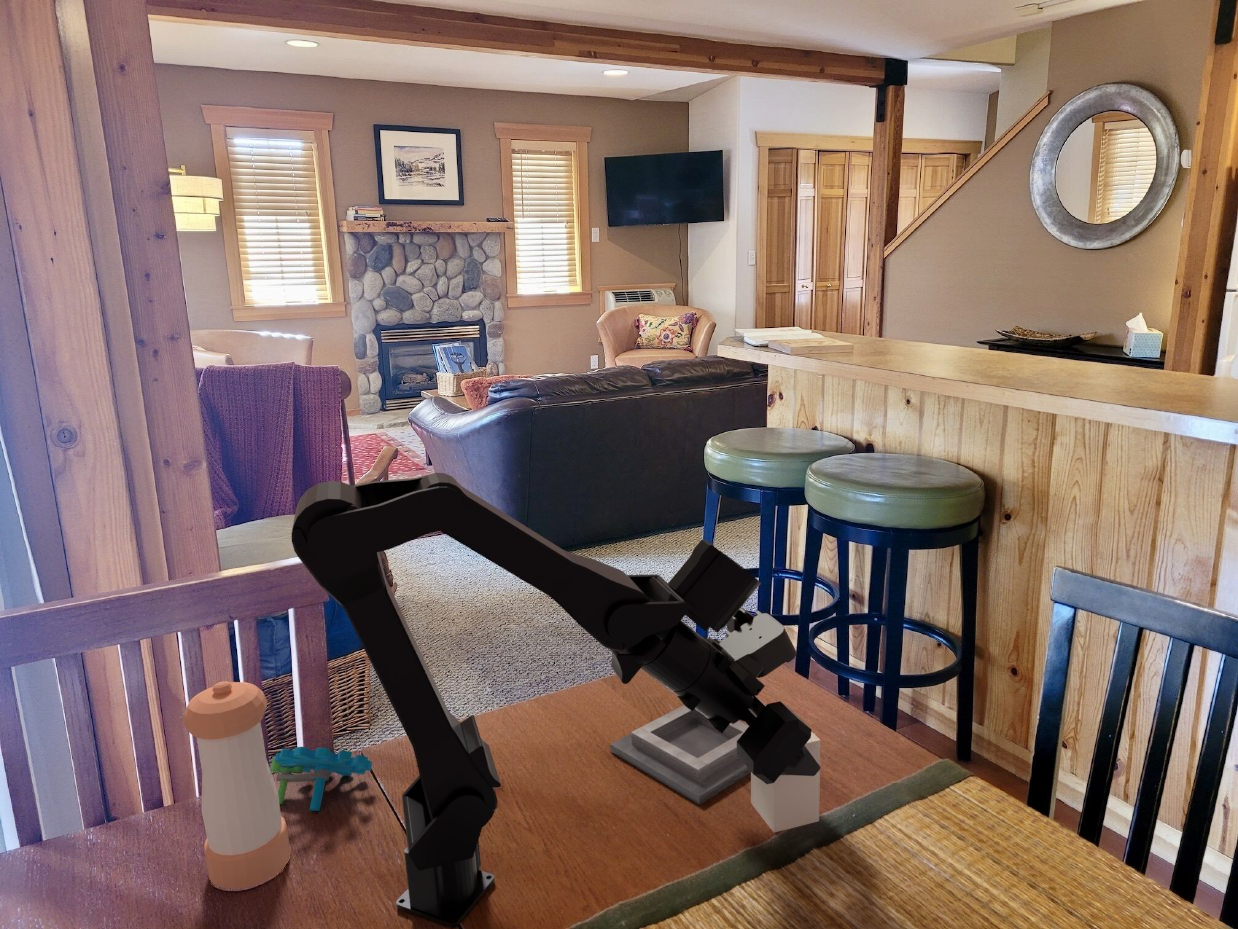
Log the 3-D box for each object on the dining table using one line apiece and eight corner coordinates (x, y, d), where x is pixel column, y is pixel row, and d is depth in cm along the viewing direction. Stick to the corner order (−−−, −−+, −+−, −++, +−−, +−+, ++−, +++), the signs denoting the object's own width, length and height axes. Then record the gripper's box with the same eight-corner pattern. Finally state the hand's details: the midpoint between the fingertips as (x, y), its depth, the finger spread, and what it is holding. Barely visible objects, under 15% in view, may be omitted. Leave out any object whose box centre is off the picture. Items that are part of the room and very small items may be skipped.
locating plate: (699, 805, 89) (698, 783, 88) (610, 751, 99) (609, 732, 98) (784, 751, 98) (784, 731, 97) (694, 707, 108) (694, 689, 107)
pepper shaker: (291, 878, 80) (264, 692, 76) (206, 902, 78) (172, 710, 73) (290, 833, 87) (264, 658, 83) (211, 853, 84) (180, 674, 80)
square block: (773, 832, 84) (774, 750, 82) (751, 803, 89) (750, 724, 87) (819, 821, 86) (820, 740, 84) (794, 792, 90) (795, 715, 88)
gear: (390, 761, 96) (341, 738, 88) (380, 818, 93) (329, 799, 85) (304, 765, 99) (249, 742, 91) (292, 819, 96) (234, 802, 87)
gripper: (791, 637, 72) (900, 730, 77) (703, 566, 89) (798, 645, 95) (706, 741, 71) (822, 826, 77) (634, 649, 89) (733, 724, 94)
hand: (793, 746), depth 86 cm, fingers open, 9 cm apart
